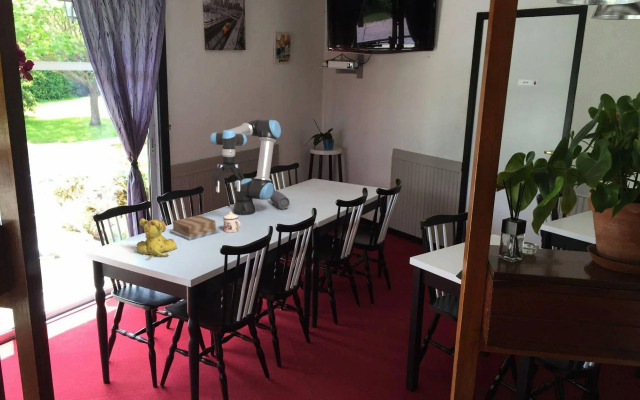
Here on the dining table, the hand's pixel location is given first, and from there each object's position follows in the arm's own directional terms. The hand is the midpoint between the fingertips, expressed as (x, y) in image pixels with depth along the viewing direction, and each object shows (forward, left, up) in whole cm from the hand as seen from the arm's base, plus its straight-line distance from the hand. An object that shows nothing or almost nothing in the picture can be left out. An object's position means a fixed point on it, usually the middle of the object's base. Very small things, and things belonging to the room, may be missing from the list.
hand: (228, 191), depth 314 cm
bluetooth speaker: (-59, -20, -24) cm, 67 cm away
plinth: (+18, -10, -24) cm, 32 cm away
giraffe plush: (+51, +4, -24) cm, 57 cm away
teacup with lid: (0, +4, -24) cm, 25 cm away
